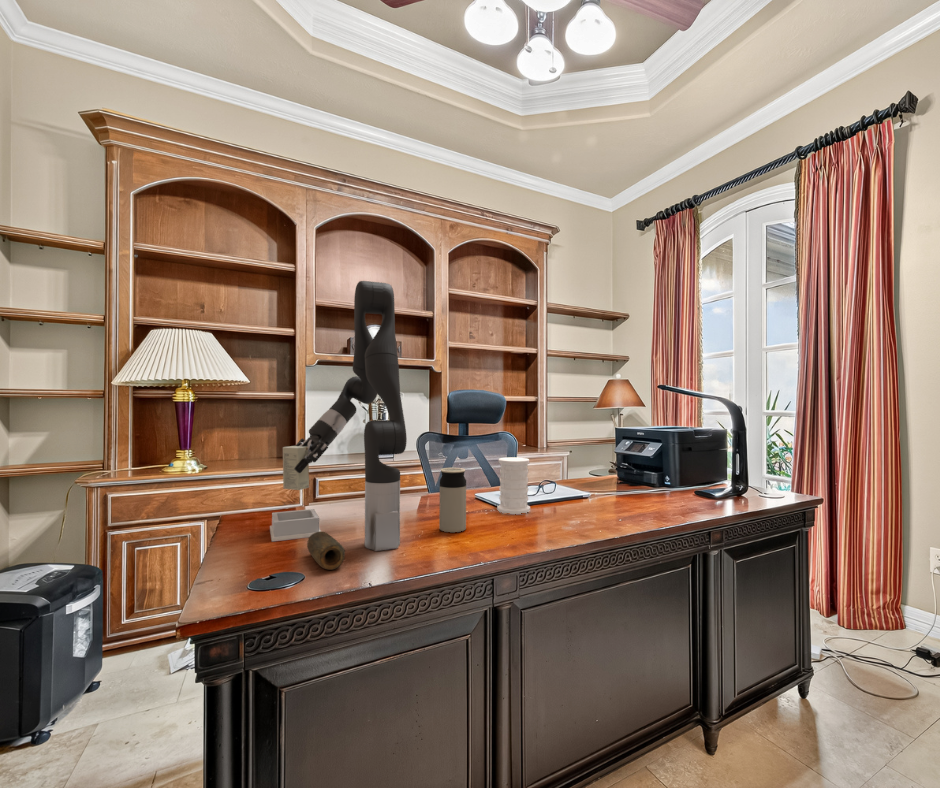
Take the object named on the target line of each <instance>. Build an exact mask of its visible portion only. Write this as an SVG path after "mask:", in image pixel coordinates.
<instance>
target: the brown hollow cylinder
mask: <svg viewBox="0 0 940 788" xmlns="http://www.w3.org/2000/svg"><path fill="white" fill-rule="evenodd" d="M306 545H307V551H308V552H309V553H310V555H311V557H312V558H313V559H314V561H315V562H316V563H317V564H318V565H319V566H320V567H321V568H323V569H324V570H327V571H328V570H331V571H333V570H336V569H337V568H339V567H340V566H341V565H342V564H343V561H344V560H345V554H346V553H345V552H346V551H345V548H344V547H343V545H342V543H340V542H339V541H338V540H336V538H334V537H333V536H331V535H330V534H329V533H327V532H326V531H322V530H321V532H316V533H314V534H312V535H311V536H310V537H308V538H307V544H306Z"/></svg>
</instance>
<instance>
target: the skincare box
mask: <svg viewBox="0 0 940 788" xmlns="http://www.w3.org/2000/svg"><path fill="white" fill-rule="evenodd" d="M306 449H307V447H303V446H295V445H291V446H283V447H282V482H283V484H282V485H283V487H282V488H283V489H285V490H292V491H293V490H294V491H300V490H304V489H308V488H310V467H309V466H310V465H309V464H308V465H307V466H306V467H305V469H304V470H303V471H302V472H301V473H298V472H297V471H296V470H295V469H294V468H295V467H296V465H297V464H298V463H299V462H300V461H301V460H302V459H304V456H305V454H306V453H305V450H306Z"/></svg>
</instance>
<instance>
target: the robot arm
mask: <svg viewBox="0 0 940 788" xmlns="http://www.w3.org/2000/svg"><path fill="white" fill-rule="evenodd" d="M353 300H354V301H353V303H354V308H353V310H354V311H353V312H354V318H353V319H354V321H353V322H354V350H353V351H354V352H353V360H352V371H353V373H354V374H355V375H356V376H351V377H350V378H348V379H347V381H346V382H345V384H344V386H343V387H342V390H341V392H340V394H339V396H338V398H337V399H336V401H335V402H334V403H333V404H332V405H331V406H330V408H329V409H328V410H326V411H325V412H324V413H323V414H322V415H321V416H320V417H319V418H318V420H316V422H314V424H313V425H312V426H311V427H310V428H309V430H308V433H309V437H308V438H307V439H304V438H303V437H302V438H300V440H298V442H297V443H296V444H295V445H294V446H303V447H307V449H306V450H305V453H306V454H305V456H304V459H302V460H301V461H300V462H299V463H298V464H297V465H296V467H295V468H294V469H295V470H296V471H297V472H298V473H301V472H302V471H303V470H304V469H305V467H306V466H307V465H308V464H312V463H316V462H317V461H318V460H319V459H320V458H321V456H323V454H324V453H325V452H326V451H327V450H328V448H329V446H330V445H331V444H333V441H334V440H335V439H336V438H337V437H338V436H339V434H340V433H341V432H342V431H343V430H344V428H345V427H346V425H347V424H348V423H349V422H350V420H351V419H352V418H353V417H354V416H355V415H356V413H357V407H356V405H355V404H354V403H353V402H352V400H353V399H354V400H356V401H358V402H360V403H363V404H364V405H365V404H366V405H369V404H371V403H373V402H375V400H376V399H377V396H378V397H379V398H380V399H381V400H382V403H383V404H384V406H385V408H386V411H387V413H388V417H389V419H387V420H386V419H385V420H382V419H381V420H378V419H377V420H369V421H367V422H366V423H365V426H364V429H363V430H364V431H363V442H364V474H365V475H364V547H365V548H366V549H367V550H373V551H375V552H379V551H387V550H394V549H399V546H400V545H401V544H400V543H401V542H400V541H401V536H400V535H401V471H400V469H399V468H397V467H394V466H390V465H387V464H385V463H383V462H382V461H381V460H380V458H379V457H380V456H387V455H388V456H389V455H401V454H403V453H405V451H406V449H407V443H408V442H407V441H408V440H407V429H406V422H405V417H404V416H405V415H404V409H403V403H402V396H401V385H400V367H399V366H400V365H399V358H398V357H399V356H398V348H397V341H396V328H395V327H396V326H395V325H396V324H395V323H396V319H395V312H396V311H395V292H394V289H393V287H392V284H390V283H386V282H379V281H370V280H369V281H367V280H360V281H358V282H357V283H356V286H355V290H354V299H353ZM366 314H373V315H381V316H382V317H381V324H380V326H379V328H378V330H377V332H376V334H375V335H374V337H373V336H372V334H371V333H370V331H369V328H368V326H367V323H366V322H367V321H366Z"/></svg>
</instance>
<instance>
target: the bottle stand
mask: <svg viewBox="0 0 940 788" xmlns="http://www.w3.org/2000/svg"><path fill="white" fill-rule="evenodd" d="M271 516H272V517H271V525H269V533H270V539H271V542H280V541H288V540H296V539H305V538H307V539H308V538H309V537H310V536H311V535H312V534H314V533H316V532H321V531H322V530H321V528H320V517H319V515H318V513H317V512H316V510H315V508H308V509H299V510H287V511H286V510H285V511H277V512H272V513H271Z"/></svg>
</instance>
